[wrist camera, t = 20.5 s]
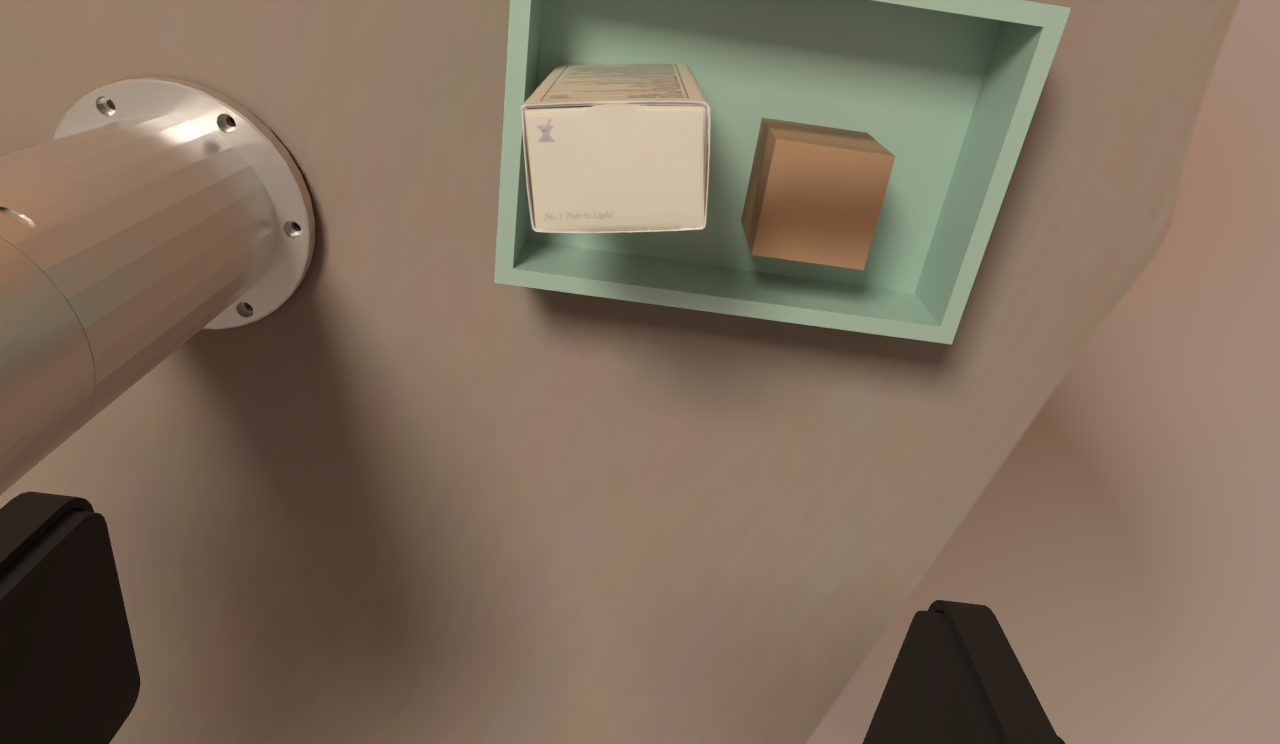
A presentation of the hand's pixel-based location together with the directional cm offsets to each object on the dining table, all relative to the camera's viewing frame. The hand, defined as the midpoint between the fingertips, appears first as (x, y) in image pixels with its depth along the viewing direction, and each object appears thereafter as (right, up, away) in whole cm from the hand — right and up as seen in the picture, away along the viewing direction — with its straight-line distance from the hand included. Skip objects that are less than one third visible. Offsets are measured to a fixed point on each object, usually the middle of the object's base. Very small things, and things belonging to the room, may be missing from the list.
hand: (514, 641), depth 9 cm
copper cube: (+9, +13, +29) cm, 33 cm away
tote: (+7, +15, +29) cm, 33 cm away
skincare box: (+1, +15, +28) cm, 32 cm away
